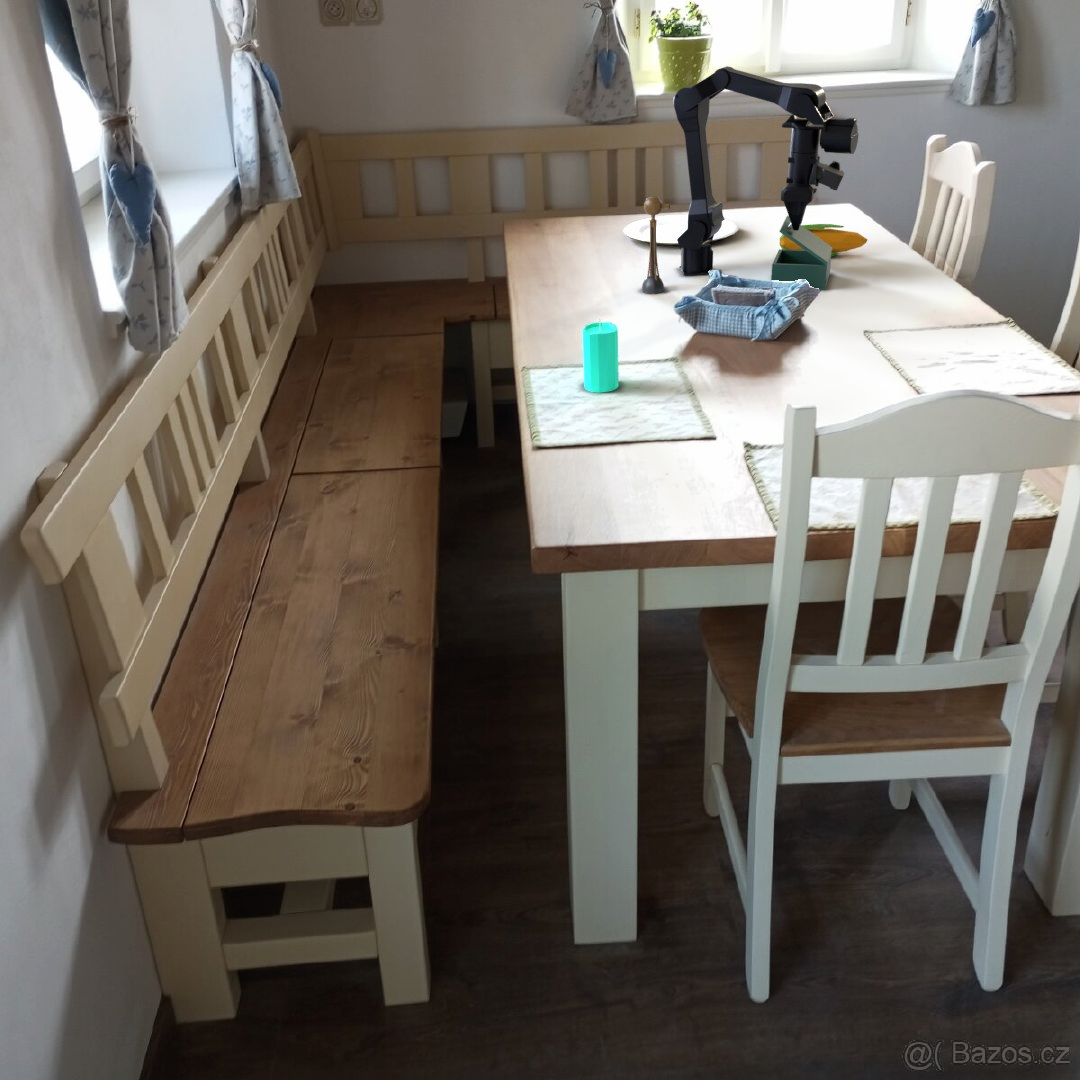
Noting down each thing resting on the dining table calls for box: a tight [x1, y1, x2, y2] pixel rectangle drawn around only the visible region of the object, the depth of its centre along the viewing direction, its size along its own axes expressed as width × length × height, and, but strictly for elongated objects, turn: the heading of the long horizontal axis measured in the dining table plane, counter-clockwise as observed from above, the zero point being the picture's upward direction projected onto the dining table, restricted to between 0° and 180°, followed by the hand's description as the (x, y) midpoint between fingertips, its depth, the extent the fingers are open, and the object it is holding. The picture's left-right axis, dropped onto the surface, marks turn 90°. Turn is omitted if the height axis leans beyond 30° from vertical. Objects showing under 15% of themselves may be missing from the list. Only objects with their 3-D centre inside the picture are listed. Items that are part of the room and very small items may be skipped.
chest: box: [770, 248, 832, 291], centre depth 237 cm, size 11×12×5 cm
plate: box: [623, 214, 739, 247], centre depth 279 cm, size 29×29×2 cm
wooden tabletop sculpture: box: [641, 196, 671, 295], centre depth 233 cm, size 6×5×20 cm
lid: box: [778, 215, 832, 265], centre depth 233 cm, size 12×12×4 cm
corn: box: [779, 223, 868, 257], centre depth 254 cm, size 7×8×20 cm
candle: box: [582, 318, 620, 394], centre depth 186 cm, size 6×6×12 cm
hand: (797, 227), depth 233 cm, fingers open, 5 cm apart
